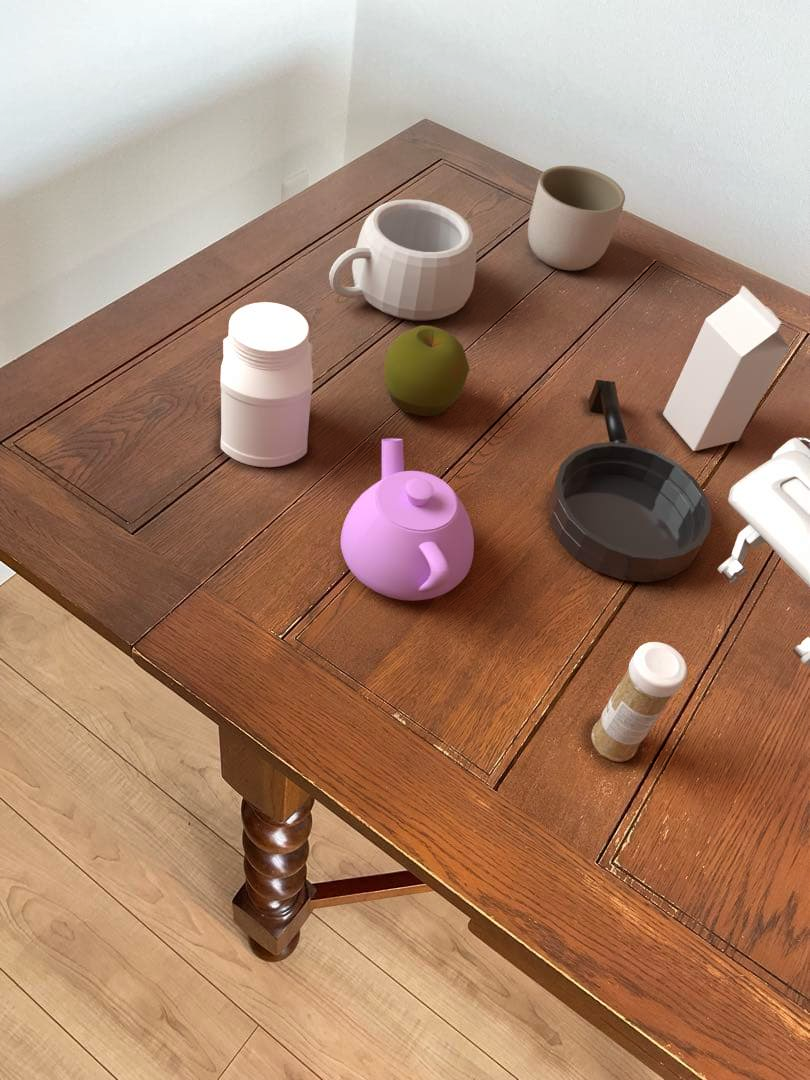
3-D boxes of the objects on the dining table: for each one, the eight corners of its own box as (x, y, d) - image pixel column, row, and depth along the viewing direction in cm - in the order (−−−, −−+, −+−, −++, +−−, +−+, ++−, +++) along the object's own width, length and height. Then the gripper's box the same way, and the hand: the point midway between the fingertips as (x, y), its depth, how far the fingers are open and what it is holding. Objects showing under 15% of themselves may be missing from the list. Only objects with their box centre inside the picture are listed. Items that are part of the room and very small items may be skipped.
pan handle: (606, 403, 123) (617, 375, 120) (620, 473, 115) (633, 445, 112) (588, 401, 123) (598, 373, 120) (601, 471, 115) (612, 443, 111)
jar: (224, 396, 114) (224, 289, 103) (306, 401, 116) (315, 296, 104) (219, 465, 107) (218, 358, 95) (306, 470, 108) (316, 364, 97)
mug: (429, 246, 141) (440, 183, 134) (493, 312, 133) (509, 249, 125) (297, 275, 132) (302, 209, 124) (357, 348, 124) (366, 281, 116)
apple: (386, 432, 114) (399, 358, 106) (371, 378, 120) (382, 304, 112) (467, 428, 116) (486, 356, 108) (449, 376, 122) (465, 304, 114)
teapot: (437, 477, 110) (454, 407, 102) (492, 619, 98) (516, 551, 90) (319, 489, 106) (327, 417, 98) (360, 637, 94) (373, 568, 86)
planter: (606, 244, 149) (628, 178, 140) (598, 288, 140) (621, 220, 132) (527, 224, 149) (545, 157, 141) (515, 266, 141) (533, 198, 133)
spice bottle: (603, 712, 93) (649, 630, 83) (645, 739, 91) (697, 659, 81) (581, 745, 90) (626, 664, 80) (624, 773, 89) (675, 695, 79)
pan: (680, 477, 116) (694, 450, 113) (710, 591, 105) (726, 565, 101) (539, 462, 114) (548, 434, 111) (554, 577, 103) (565, 550, 100)
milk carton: (693, 452, 119) (756, 327, 105) (661, 415, 123) (718, 289, 109) (738, 441, 122) (805, 318, 108) (705, 405, 126) (766, 281, 112)
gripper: (798, 413, 82) (673, 522, 86) (992, 587, 72) (840, 705, 75) (810, 439, 88) (692, 541, 91) (993, 604, 77) (851, 713, 80)
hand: (760, 616), depth 83 cm, fingers open, 8 cm apart
